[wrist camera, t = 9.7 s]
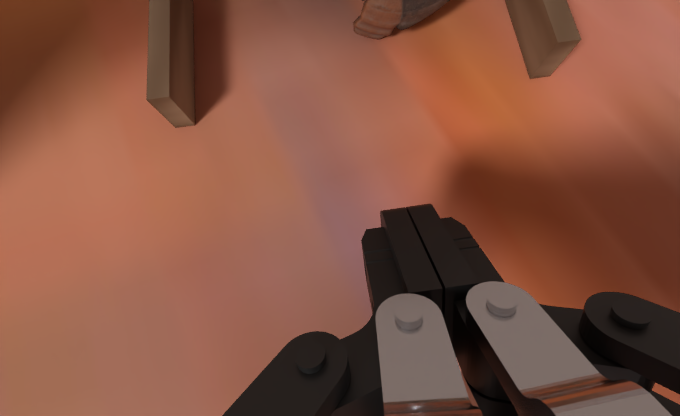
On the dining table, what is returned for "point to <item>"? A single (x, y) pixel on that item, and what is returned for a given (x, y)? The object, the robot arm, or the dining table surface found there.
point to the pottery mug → (392, 15)
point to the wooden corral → (178, 49)
